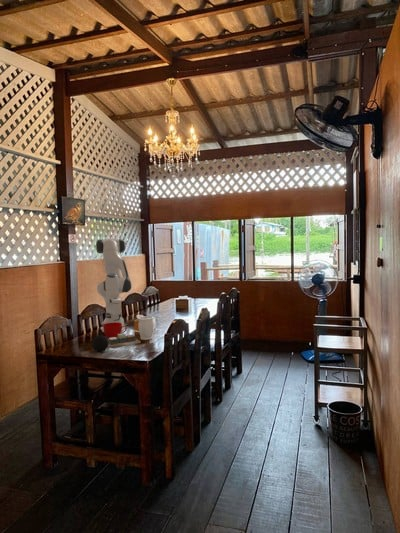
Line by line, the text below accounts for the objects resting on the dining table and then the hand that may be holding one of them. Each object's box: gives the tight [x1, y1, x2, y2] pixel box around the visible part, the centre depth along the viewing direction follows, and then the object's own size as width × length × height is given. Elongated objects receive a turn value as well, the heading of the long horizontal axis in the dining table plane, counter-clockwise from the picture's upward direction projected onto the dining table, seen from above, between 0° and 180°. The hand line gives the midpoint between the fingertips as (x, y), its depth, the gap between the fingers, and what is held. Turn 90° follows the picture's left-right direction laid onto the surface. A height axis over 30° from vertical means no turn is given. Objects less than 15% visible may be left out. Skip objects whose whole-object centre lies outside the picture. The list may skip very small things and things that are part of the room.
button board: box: [107, 335, 142, 349], centre depth 261 cm, size 11×22×4 cm, turn 122°
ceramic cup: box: [102, 322, 128, 339], centre depth 277 cm, size 13×17×10 cm
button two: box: [118, 332, 127, 339], centre depth 260 cm, size 4×4×3 cm
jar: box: [137, 315, 155, 341], centre depth 273 cm, size 11×10×15 cm
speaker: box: [91, 335, 108, 352], centre depth 243 cm, size 10×10×10 cm
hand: (113, 319), depth 257 cm, fingers closed
